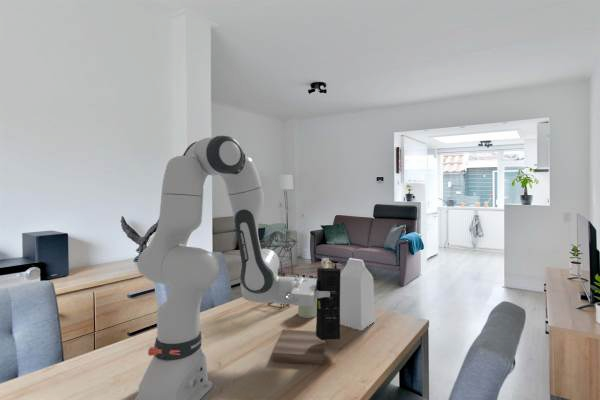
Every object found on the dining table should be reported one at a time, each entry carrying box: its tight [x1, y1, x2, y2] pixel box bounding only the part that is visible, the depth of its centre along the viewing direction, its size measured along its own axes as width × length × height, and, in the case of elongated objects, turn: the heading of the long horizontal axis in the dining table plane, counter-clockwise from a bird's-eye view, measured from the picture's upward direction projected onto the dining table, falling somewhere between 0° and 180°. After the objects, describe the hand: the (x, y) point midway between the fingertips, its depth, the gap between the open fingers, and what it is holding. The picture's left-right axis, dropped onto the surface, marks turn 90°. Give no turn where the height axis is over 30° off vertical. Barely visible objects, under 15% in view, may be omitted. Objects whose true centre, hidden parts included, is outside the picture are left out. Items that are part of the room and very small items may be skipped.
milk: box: [340, 257, 376, 331], centre depth 141 cm, size 12×12×26 cm
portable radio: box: [315, 260, 341, 341], centre depth 116 cm, size 8×6×25 cm
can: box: [297, 298, 317, 319], centre depth 150 cm, size 9×9×12 cm
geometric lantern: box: [259, 230, 299, 309], centre depth 163 cm, size 16×16×35 cm
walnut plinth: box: [272, 329, 327, 366], centre depth 117 cm, size 18×16×3 cm
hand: (330, 292), depth 114 cm, fingers closed on portable radio, 2 cm apart
